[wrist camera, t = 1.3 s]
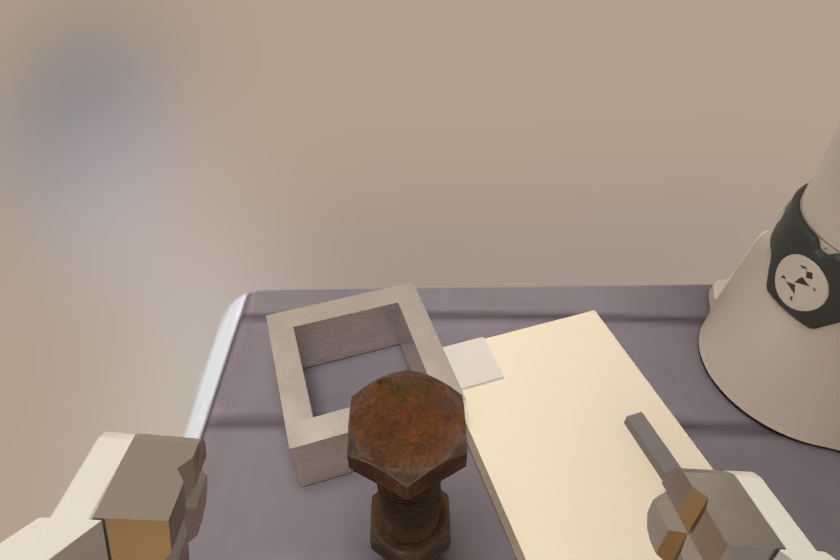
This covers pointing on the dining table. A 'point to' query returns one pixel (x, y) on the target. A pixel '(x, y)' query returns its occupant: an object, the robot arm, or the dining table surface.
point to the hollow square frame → (336, 339)
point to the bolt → (408, 460)
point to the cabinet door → (568, 439)
